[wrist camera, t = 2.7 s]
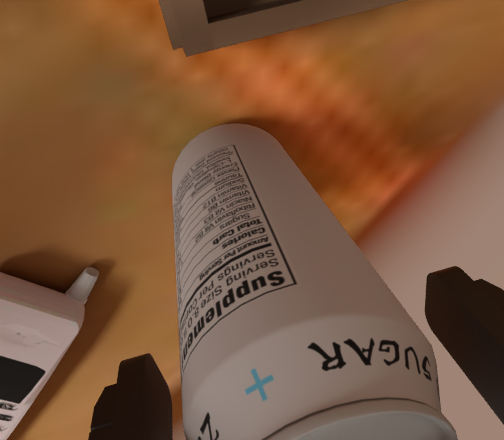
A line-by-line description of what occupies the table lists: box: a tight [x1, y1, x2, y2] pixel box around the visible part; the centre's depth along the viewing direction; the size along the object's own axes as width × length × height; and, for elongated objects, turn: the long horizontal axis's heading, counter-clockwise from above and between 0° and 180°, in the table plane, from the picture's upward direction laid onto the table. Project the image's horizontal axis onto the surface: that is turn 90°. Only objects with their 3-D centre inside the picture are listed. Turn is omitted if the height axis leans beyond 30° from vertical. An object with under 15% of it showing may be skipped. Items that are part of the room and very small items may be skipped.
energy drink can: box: [172, 123, 458, 440], centre depth 14 cm, size 6×6×15 cm
